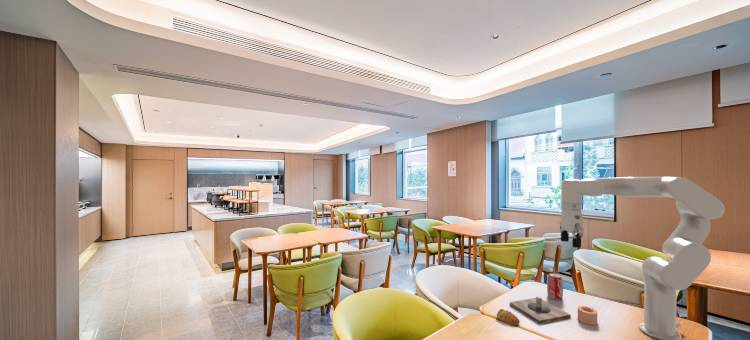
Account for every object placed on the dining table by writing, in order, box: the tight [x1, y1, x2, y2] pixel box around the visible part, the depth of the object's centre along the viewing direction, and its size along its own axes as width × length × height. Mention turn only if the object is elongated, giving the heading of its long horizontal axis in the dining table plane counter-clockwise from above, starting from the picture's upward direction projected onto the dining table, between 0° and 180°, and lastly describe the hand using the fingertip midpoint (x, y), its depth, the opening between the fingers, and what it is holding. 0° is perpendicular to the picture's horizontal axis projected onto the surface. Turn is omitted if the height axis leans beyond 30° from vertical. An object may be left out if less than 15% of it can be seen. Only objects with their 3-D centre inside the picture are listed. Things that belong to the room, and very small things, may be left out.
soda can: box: [546, 272, 564, 300], centre depth 153 cm, size 7×7×12 cm
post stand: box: [509, 296, 572, 325], centre depth 139 cm, size 18×18×6 cm
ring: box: [577, 305, 598, 326], centre depth 130 cm, size 7×7×5 cm
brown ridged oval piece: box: [496, 308, 521, 326], centre depth 130 cm, size 9×7×4 cm
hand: (570, 244), depth 130 cm, fingers open, 9 cm apart
